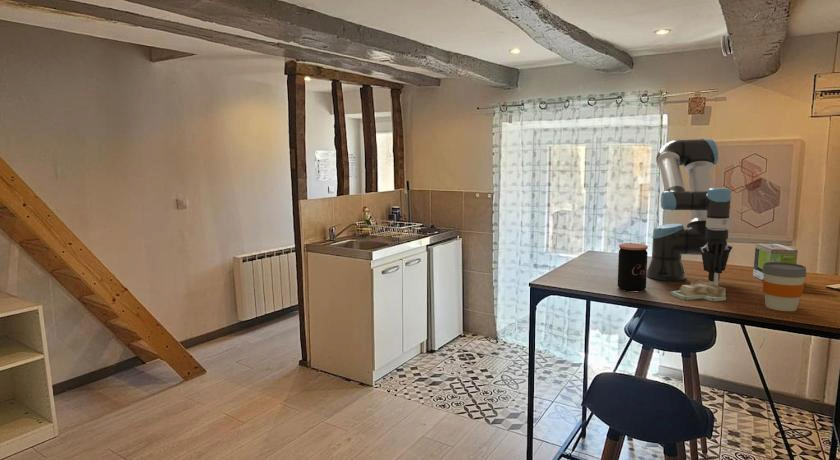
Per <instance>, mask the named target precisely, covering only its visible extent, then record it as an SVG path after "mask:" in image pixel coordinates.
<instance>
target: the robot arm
mask: <svg viewBox="0 0 840 460" xmlns="http://www.w3.org/2000/svg"><path fill="white" fill-rule="evenodd" d="M718 149H719V148H718V146H717V143H716V142H715V140H714V139H712V138H711V139H708V138H701V139H700V138H699V139H698V138H696V139H675V140H671V141H669V142H667V143H665V144H664V145H663V146H662V147H661V148H660V149H659V150H658V152H657V154H656V157H655V158H656V159H655V160H656V166H657V167H658V168H659V170H660V174H661V178H662V184H663V185H662V186H663V188H664V191H662V192H661V194H660V207H661V208H662V210H666V211H667V210H668V211H669V210H670V211H689V213H690V215H689V216H690V217H689V218H690V221H689V222H688V223H687V224H686V227H684V225H683V224H681V223H667V224H660V225H657V226H655V227H654V228H653V233H652V237H651V238H652V251H651V259H650V261H649V266H648V267H647V276H646V277H647V278H649V277H650V279H652V278H653V279H652V280H658V281H669V282H679V281H684V280H685V279H686V272H685V269H684V266H683V263H682V255H693V256H696V255H697V256H701V259H702V265H703V271H705V272H707V273H708V277H707V278H708V279H707V280H708V283H710V284H713V285H717V286H719V281H720V276H721V274H723V272H725V270H726V267H727V264H728V259H729V256H730V252H731V251H732V249H733V246H731V245H729V244H728V241H727V240H728V239H729V230H728V229H729V227H730V212H731V199H732V194H731V192H732V191H731V189H730V188H728V187H726V188H725V187H712V178H711V171H712V170H713V169H714V167H715V165H717V164H718V161H719V150H718ZM680 166H684V171H685V172H687V173H688V185H689V186H688V188H689V189H688V191H686V187H685V183H684V180H683V175H682V172H681V167H680Z"/></svg>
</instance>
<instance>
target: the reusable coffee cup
mask: <svg viewBox="0 0 840 460" xmlns="http://www.w3.org/2000/svg"><path fill="white" fill-rule="evenodd" d="M762 272H763V276H764V279H762V280H761V282H762V291H763V293H764V302H765V307H766V308H768V309H771V310H774V311H780V312H795V311H797V310H798V306H799V302H800V298H801V297H802V296H803V293H804V288H805V285H806V283H805V278H806V277H807V266H805V265H802V264H798V263H796V264H793V263H785V262H767V263H764V265H763V270H762Z"/></svg>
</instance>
